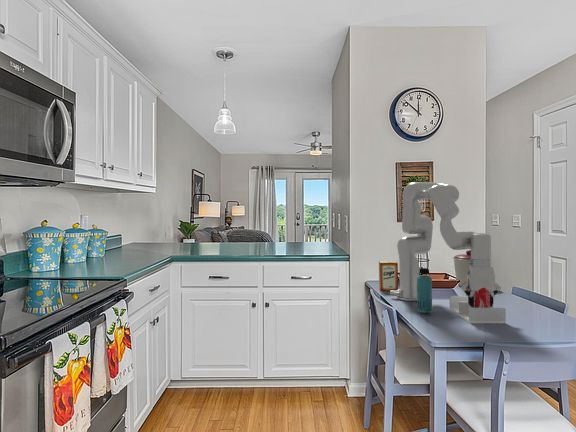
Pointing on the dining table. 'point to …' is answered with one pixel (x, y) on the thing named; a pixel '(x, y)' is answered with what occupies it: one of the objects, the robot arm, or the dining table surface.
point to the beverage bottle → (424, 291)
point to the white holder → (476, 311)
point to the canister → (462, 266)
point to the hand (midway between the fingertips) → (480, 305)
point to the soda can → (481, 298)
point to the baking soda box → (388, 275)
